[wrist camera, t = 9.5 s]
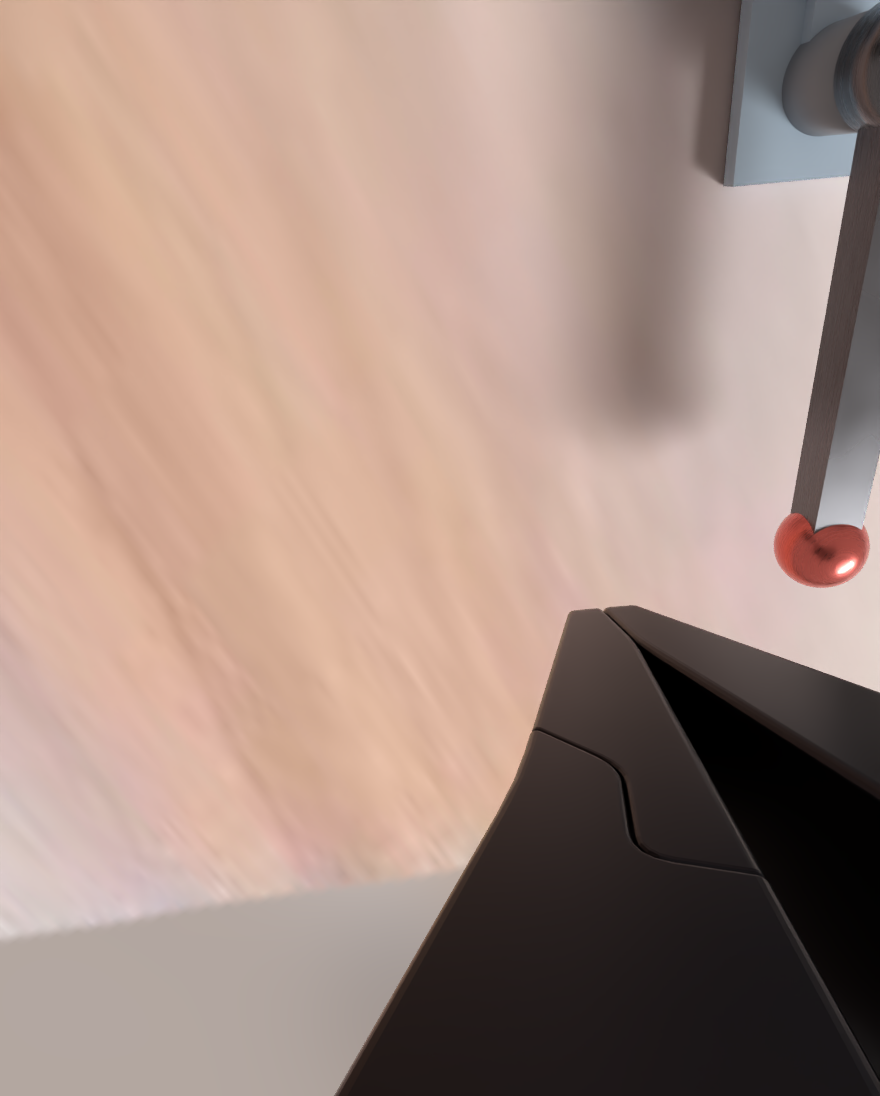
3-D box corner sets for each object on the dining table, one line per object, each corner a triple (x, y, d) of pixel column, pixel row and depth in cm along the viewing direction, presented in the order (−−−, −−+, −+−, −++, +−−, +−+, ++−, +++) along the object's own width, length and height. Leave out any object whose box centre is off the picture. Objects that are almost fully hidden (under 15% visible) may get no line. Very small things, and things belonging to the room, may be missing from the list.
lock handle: (836, 1, 14) (907, -28, 12) (958, -11, 14) (1048, -41, 12) (750, 565, 20) (788, 607, 18) (835, 557, 20) (881, 599, 18)
